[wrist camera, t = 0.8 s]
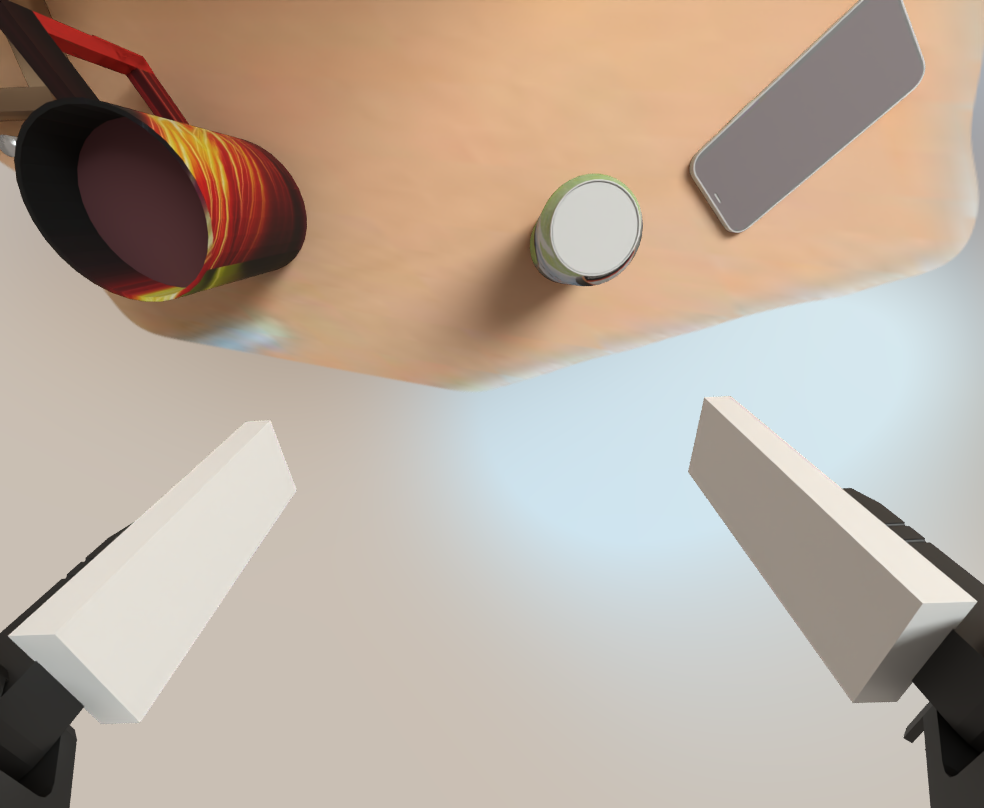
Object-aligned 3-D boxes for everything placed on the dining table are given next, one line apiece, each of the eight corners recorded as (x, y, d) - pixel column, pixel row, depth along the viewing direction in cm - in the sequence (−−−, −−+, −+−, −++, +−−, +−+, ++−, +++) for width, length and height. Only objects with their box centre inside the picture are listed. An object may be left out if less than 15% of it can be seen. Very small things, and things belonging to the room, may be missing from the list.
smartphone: (930, 76, 27) (735, 239, 32) (917, 80, 28) (729, 238, 33) (892, -30, 25) (687, 163, 29) (878, -22, 26) (681, 164, 30)
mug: (150, 57, 27) (-74, -41, 16) (328, 198, 31) (242, 194, 20) (110, 181, 30) (-97, 167, 20) (275, 294, 34) (177, 334, 24)
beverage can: (544, 292, 34) (568, 330, 23) (510, 207, 31) (520, 207, 20) (613, 259, 33) (671, 285, 22) (585, 168, 30) (636, 146, 19)
